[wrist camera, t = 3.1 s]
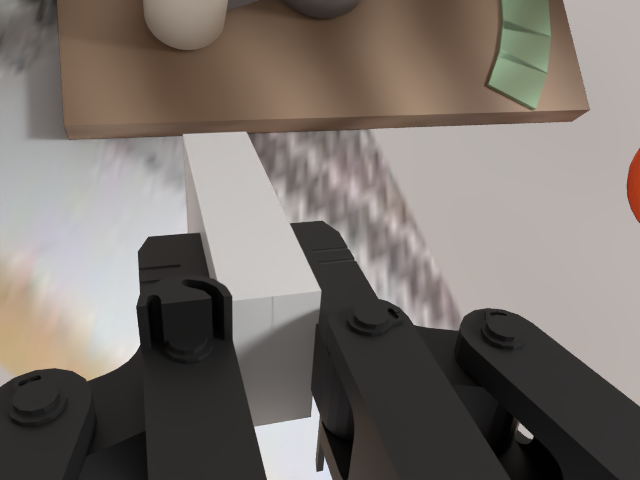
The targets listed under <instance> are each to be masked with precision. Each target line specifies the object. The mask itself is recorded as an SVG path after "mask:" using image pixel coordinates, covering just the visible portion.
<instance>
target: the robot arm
mask: <svg viewBox="0 0 640 480" xmlns="http://www.w3.org/2000/svg"><path fill="white" fill-rule="evenodd" d="M183 149H184V168H185V186H186V205H187V223H188V234H177V235H164V236H152V237H148V238H147V239H146V241H145V242H144V244H143V245H142V247H141V248H140V250H139V251H138V263H139V282H140V296H139V299H138V303H137V306H136V309H137V318H138V327H139V335H140V346H139V348H138V350H137V352H136V353H135V354H134V356H133V357H132V358H131V359H130V360H129V361H128V362H126V363H125V364H124V365H122V366H121V367H119V368H118V369H116V370H114V371H112V372H110V373H107V374H105V375H103V376H100V377H98V378H95V379H92V380H90V381H86V379H85V378H83V377H81V376H80V375H78V374H76V373H75V372H73V371H68V370H62V369H56V368H53V369H44V370H35V371H32V372H29V373H26V374H23V375H21V376H18V377H15V378H13V379H12V380H10V381H9V382H7V383H6V384H4V385H2V386H1V387H0V480H267V478H266V474H265V470H264V466H263V462H262V458H261V454H260V450H259V445H258V441H257V437H256V433H255V429H254V426H260V425H266V424H272V423H278V422H284V421H290V420H295V419H301V418H307V417H311V409H312V397H314V400H315V402H316V405H317V408H318V411H319V413H320V420H319V430H318V441H317V451H316V470H317V472H318V471H323V465H324V456H325V459H326V462H327V465H328V468H329V471H330V474H331V476H332V479H333V480H640V407H639V406H638V405H637V404H636V403H635V402H633V401H632V400H631V399H629V398H628V397H627V396H626V395H624V394H623V393H622V392H620V391H619V390H618V389H617V388H615V387H614V386H613V385H611V384H610V383H609V382H607V381H606V380H605V379H603V378H602V377H601V376H600V375H598V374H597V373H596V372H594V371H593V370H592V369H591V368H589V367H588V366H587V365H586V364H584V363H583V362H582V361H580V360H579V359H578V358H577V357H575V356H574V355H573V354H571V353H570V352H569V351H567V350H566V349H565V348H564V347H562V346H561V345H560V344H558V343H557V342H556V341H555V340H553V339H552V338H551V337H550V336H548V335H547V334H546V333H544V332H543V331H542V330H541V329H539V328H538V327H537V326H535V325H534V324H533V323H531V322H530V321H528V320H526V319H525V318H523V317H521V316H519V315H518V314H514V313H511V312H508V311H505V310H501V309H490V308H486V309H480V310H474V311H472V312H471V313H469V314H467V315H466V316H464V318H463V320H462V322H461V324H460V328H459V331H454V330H444V329H434V328H426V327H420V326H416V325H413V323H412V322H411V320H410V319H409V317H408V316H407V315H406V314H405V313H404V312H403V311H402V310H401V309H400V308H399V307H397V306H395V305H393V304H392V303H390V302H388V301H385V300H381V299H378V297H377V296H376V294H375V292H374V291H373V289H372V287H371V286H370V284H369V282H368V281H367V279H366V277H365V275H364V274H363V272H362V270H361V269H360V267H359V265H358V264H357V262H356V261H354V257H353V255H352V254H351V252H350V250H349V249H347V245H346V243H345V242H344V240H343V238H342V237H341V235H340V233H339V232H338V231H336V230H335V229H333V228H332V227H331V226H329V225H328V224H326V223H325V222H323V221H313V222H301V223H289V221H288V219H287V217H286V215H285V213H284V210H283V208H282V206H281V204H280V202H279V200H278V198H277V196H276V194H275V191H274V189H273V187H272V185H271V183H270V181H269V179H268V177H267V174H266V172H265V170H264V168H263V166H262V164H261V162H260V160H259V157H258V155H257V153H256V151H255V149H254V147H253V145H252V143H251V140H250V138H249V136H248V134H247V132H222V133H197V134H183ZM519 423H521V424H522V425H523V426H524V427H525V428H526V429H527V430H528V431H529V432H530V433H531V434H533V436H534V437H533V439H529V438H527V437H525V436H524V435H523V434H522V433H521V432H519V431H518V430H517V429H518V426H519Z"/></svg>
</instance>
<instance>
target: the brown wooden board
mask: <svg viewBox="0 0 640 480" xmlns="http://www.w3.org/2000/svg"><path fill="white" fill-rule="evenodd" d="M57 12H58V30H59V48H60V67H61V85H62V103H63V122H64V127H65V130H66V133H67V135H68V138H69V139H97V138H125V137H153V136H181V135H183V134H197V133H222V132H247V133H265V132H293V131H321V130H349V129H375V128H404V127H432V126H457V125H458V126H460V125H488V124H515V123H544V122H569V121H570V122H572V121H574V120H575V119H576V118H578V117H580V116H581V115H583V114H584V113H586V112H587V111H589V110H590V108H589V104H588V100H587V96H586V92H585V88H584V84H583V80H582V76H581V72H580V68H579V64H578V60H577V56H576V52H575V48H574V44H573V40H572V36H571V32H570V28H569V24H568V20H567V15H566V11H565V8H564V3H563V0H361V1H360V2H359V4H358V5H357V6H356V7H355V8H354V9H353V10H351V11H350V12H348V13H346V14H344V15H342V16H339V17H335V18H315V17H311V16H308V15H305V14H302V13H300V12H298V11H296V10H294V9H293V8H291V7H290V6H289V5H287V4H286V3H285V2H284V1H283V0H259V1H256V2H253V3H250V4H247V5H244V6H241V7H237V8H234V9H231V10H228V11H226V17H225V24H224V28H223V30H222V32H221V34H220V36H219V37H218V38H217V39H216V40H215V41H214V42H213V43H211V44H210V45H208V46H206V47H204V48H200V49H196V50H181V49H176V48H173V47H170V46H168V45H166V44H164V43H163V42H161V41H160V40H159V39H157V38H156V37H155V36H154V35H153V34H152V32H151V31H150V29H149V28H148V26H147V24H146V21H145V18H144V8H143V0H57Z"/></svg>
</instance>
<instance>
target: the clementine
mask: <svg viewBox="0 0 640 480" xmlns="http://www.w3.org/2000/svg"><path fill="white" fill-rule="evenodd" d="M627 196H628V200H629V204H630V207H631V210H632V212H633V213H634V215H635V217H636V219H637V220H638V222H639V223H640V149H639V150H638V151H637V153H636V154H635V156H634V158H633V161H632V162H631V164H630V168H629V173H628V179H627Z"/></svg>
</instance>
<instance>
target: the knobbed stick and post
mask: <svg viewBox="0 0 640 480" xmlns="http://www.w3.org/2000/svg"><path fill="white" fill-rule="evenodd" d="M256 1H259V0H143V8H144V18H145V21H146V24H147V26H148V28H149V29H150V31H151V32H152V34H153V35H154V36H155V37H156V38H157V39H159V40H160V41H161V42H163V43H164V44H166V45H168V46H170V47H173V48H176V49H181V50H196V49H200V48H204V47H206V46H208V45H210V44H211V43H213V42H214V41H215V40H216V39H217V38H218V37H219V36H220V34H221V32H222V30H223V28H224V24H225V17H226V11H228V10H231V9H234V8H237V7H241V6H244V5H247V4H250V3H253V2H256ZM283 1H284V2H285V3H286V4H287V5H289V6H290V7H291V8H293V9H294V10H296V11H298V12H300V13H302V14H305V15H308V16H311V17H315V18H335V17H339V16H342V15H344V14H346V13H348V12H350V11H351V10H353V9H354V8H355V7H356V6H357V5H358V4H359V2H360V1H361V0H283Z"/></svg>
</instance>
